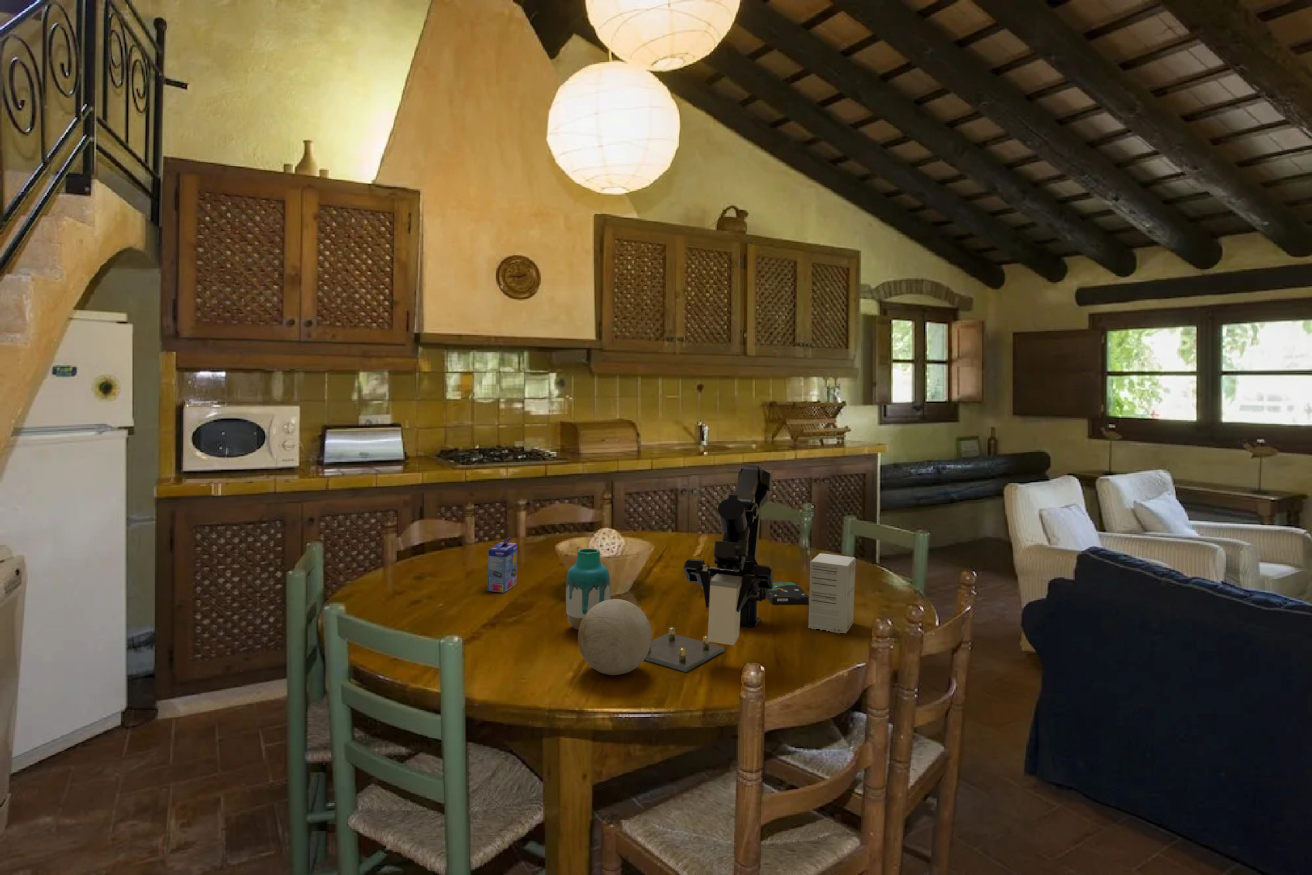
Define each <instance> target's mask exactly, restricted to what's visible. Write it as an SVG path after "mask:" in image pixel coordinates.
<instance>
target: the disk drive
mask: <svg viewBox="0 0 1312 875" xmlns="http://www.w3.org/2000/svg"><path fill="white" fill-rule="evenodd" d="M766 599H767V600H768V601H769V602H770V604H771V605H772V606H773V605H775V606H776V605H780V606H781V605H809V594H807V593H806V592H805V591H804V589H802V587H801V586H800V585H799V584H798V583H797V582H796V581H773V589H771V590H767V589H766Z"/></svg>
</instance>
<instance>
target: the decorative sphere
mask: <svg viewBox="0 0 1312 875" xmlns="http://www.w3.org/2000/svg"><path fill="white" fill-rule="evenodd" d="M577 631H578V632H577V643H578V649H579V651H580V653H581V656H582V658H583V659H584V660H585V662H586V663H587V664H588V665H589V667H591V668H592V669H594V670H595V671H597V672H599V673H601V674H605V675H609V676H620V675H624V674H627V673H630V672H632V671H633V670H635V669H636V668H638V667H639V666H640V665H641V664H642V663H643V662H644V661H645V660H644V659H645V657H646V656H647V654H648V652H649V649H650V646H651V641H652V628H651V624H650V622H649V620H648V618H647V616H646V614H645V613H644V612H643V611H642V609H641V608H640V607H638V606H637V605H636V604H634V603H632V602H630V601H628V600H625V599H620V598H619V599H618V598H612V599H611V598H610V600H605V601H602V602H600V603H598V604H596V605H595V606H593V607H592V608H591V609H590V610H589V611H588V612H587V613H586V614H585V616H584V617H583V619H582V621H581V624H580V626H579V630H577Z"/></svg>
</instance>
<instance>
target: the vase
mask: <svg viewBox="0 0 1312 875" xmlns="http://www.w3.org/2000/svg"><path fill="white" fill-rule="evenodd" d="M601 561H602V560H601V551H600V549H598V548H593V547H587V548H586V547H585V548H580V549H578V550H577V552H576V562H575V564H574V565H572V566H571V567H570V568H569V569H568V571H567V575H566V580H565V609H566V617H567V622H568V623H569V625H570V626H571V628H574V629H575V630H577V631H579V626H580V624H581V621H582V619H583V617H584V616H585V614H586V613H587V612H588V611H589V610H590V609H591V608H592V607H593V606H595V605H596V604H598V603H600V602H602V601H605V600H610V599H611V576H610V571H609V569H608V568H607V566H606V565H603V564H602V562H601Z"/></svg>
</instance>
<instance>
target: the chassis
mask: <svg viewBox="0 0 1312 875" xmlns="http://www.w3.org/2000/svg"><path fill="white" fill-rule="evenodd" d="M724 652H725V647H724V646H721V645H718V644H713V643H711V642H709V641H708V635H703V636H702V640H698V639H695V638H691V637H688V636H687V637H686V636H682V635H679V634H676V627H674V626H670V627H668V633H665V634H663V635H661V636H659V637H657V638H653V639H651V646H650V649H649V652H648V654H647V656H646V657H645V659H644V661H646V662H649V663H652V664H657V665H660V666H663V667H666V668H670V669H673V670H676V671H680V672H682V673H683V672H684V673H688V672H689V671H691V670H693V669H695V668H697V667H698V666H701V665H702V664H704V663H706V662H708V661H710V660H712V659H713V658H715V657H716V656H718V654H719V655H721V654H723V653H724Z"/></svg>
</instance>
